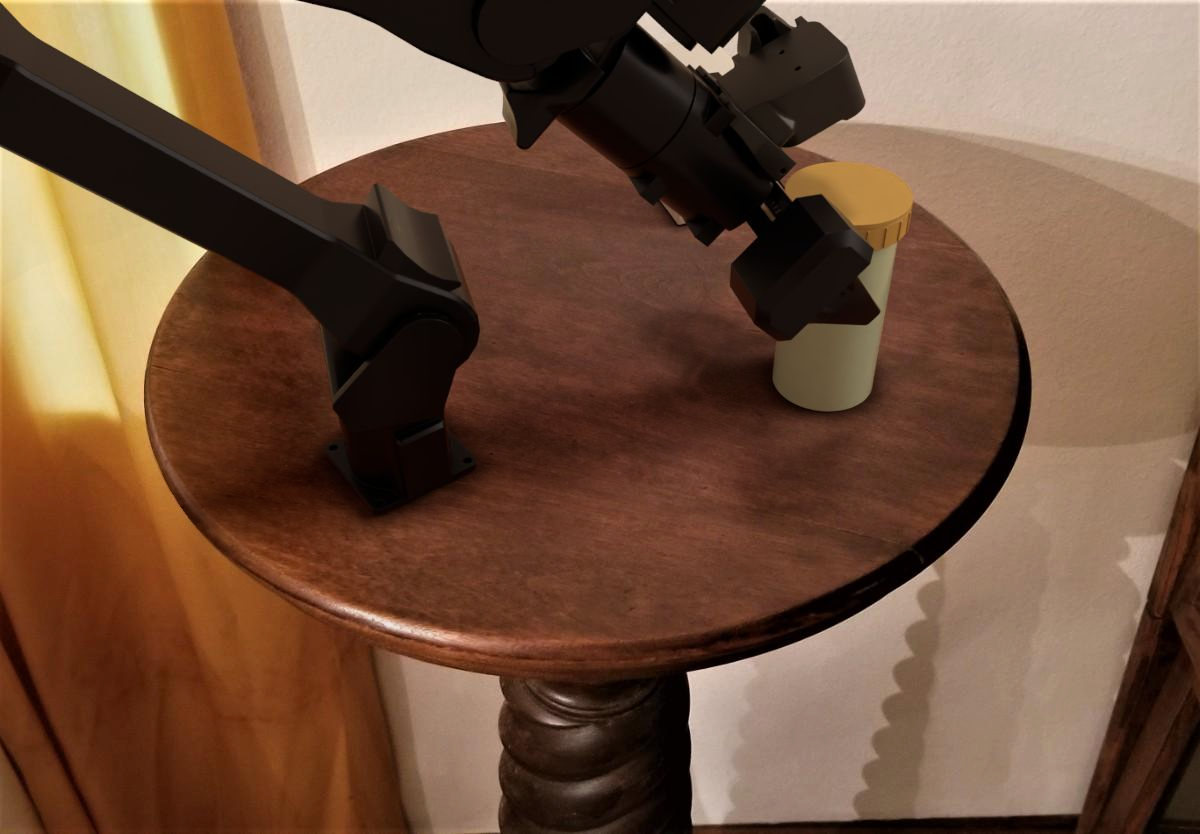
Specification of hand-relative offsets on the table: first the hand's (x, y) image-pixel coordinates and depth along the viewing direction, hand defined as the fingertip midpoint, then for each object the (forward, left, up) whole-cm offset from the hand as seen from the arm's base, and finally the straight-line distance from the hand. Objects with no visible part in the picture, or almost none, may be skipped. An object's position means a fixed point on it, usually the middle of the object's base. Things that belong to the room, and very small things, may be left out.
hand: (836, 271), depth 65 cm
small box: (-22, +8, -8) cm, 25 cm away
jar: (0, 0, -8) cm, 8 cm away
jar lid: (0, 0, +5) cm, 5 cm away
